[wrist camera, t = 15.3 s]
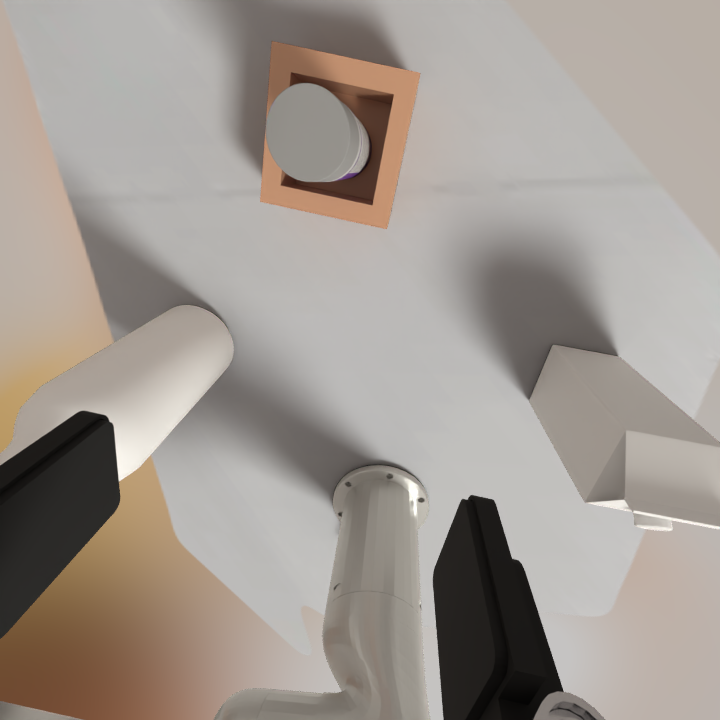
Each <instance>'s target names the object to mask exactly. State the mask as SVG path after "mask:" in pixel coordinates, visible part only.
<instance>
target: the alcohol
mask: <svg viewBox="0 0 720 720" xmlns="http://www.w3.org/2000/svg"><path fill="white" fill-rule="evenodd" d="M233 354H234V344H233V341H232V337H231V335H230V333H229V331H228V329H227V327H226V326H225V324H224V323H223V322H222V321H221V320H220V319H219V318H218V317H217V316H215V315H214V314H213V313H211V312H209V311H207V310H205V309H203V308H200V307H197V306H192V305H180V306H177V307H173V308H171V309H170V310H168V311H166V312H165V313H163V314H161V315H160V316H158V317H156V318H155V319H153V320H151V321H150V322H148V323H146V324H144V325H143V326H141V327H139V328H138V329H136V330H134V331H133V332H131V333H129V334H128V335H126V336H124V337H123V338H121V339H119V340H118V341H116V342H114V343H113V344H111V345H109V346H108V347H106V348H104V349H103V350H101V351H99V352H97V353H96V354H94V355H92V356H91V357H89V358H87V359H86V360H84V361H82V362H81V363H79V364H77V365H76V366H74V367H72V368H71V369H69V370H67V371H66V372H64V373H62V374H61V375H59V376H57V377H56V378H54V379H52V380H51V381H49V382H47V383H46V384H44V385H42V386H41V387H40V388H39V389H38V390H37V391H36V392H35V393H34V394H33V395H32V396H31V397H30V398H29V399H28V401H27V402H26V403H25V404H24V405H23V406H22V407H21V408H20V411H19V413H18V415H17V418H16V422H15V427H14V435H13V440H12V441H11V443H10V444H9V445H8V447H7V448H6V449H5V450H4V451H3V452H2V453H0V465H1V464H3V463H4V462H6V461H7V460H9V459H10V458H12V457H13V456H15V455H16V454H17V453H19V452H20V451H22V450H23V449H25V448H26V447H28V446H29V445H31V444H32V443H34V442H35V441H36V440H38V439H39V438H41V437H42V436H44V435H45V434H47V433H48V432H50V431H51V430H53V429H54V428H55V427H57V426H58V425H60V424H61V423H63V422H64V421H66V420H67V419H69V418H70V417H71V416H73V415H74V414H76V413H78V412H80V411H89V412H93V413H98V414H103V415H106V416H107V417H108V418H109V422H111V423H112V424H113V426H114V434H115V445H116V456H117V467H118V478H119V481H120V480H122V479H123V478H125V477H126V476H128V475H129V474H131V473H132V472H134V471H135V470H136V469H138V468H139V467H140V466H141V465H142V464H143V463H144V462H145V460H146V459H147V458H148V457H149V456H150V455H151V454H152V453H153V451H154V450H155V449H156V448H157V447H158V446H159V445H160V444H161V442H162V441H163V440H164V439H165V438H166V437H167V436H168V435H169V433H170V432H171V431H172V430H173V429H174V428H175V427H176V426H177V424H178V423H179V422H180V421H181V420H182V419H183V418H184V416H185V415H186V414H187V413H188V412H189V411H190V410H191V409H192V407H193V406H194V405H195V404H196V403H197V402H198V401H199V400H200V398H201V397H202V396H203V395H204V394H205V393H206V392H207V391H208V389H209V388H210V387H211V386H212V385H213V384H214V383H215V382H216V380H217V379H218V378H219V377H220V376H221V375H222V374H223V372H224V371H225V370H226V369H227V368H228V366H229V365H230V364H231V361H232V359H233Z"/></svg>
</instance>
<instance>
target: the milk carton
mask: <svg viewBox="0 0 720 720" xmlns="http://www.w3.org/2000/svg"><path fill="white" fill-rule="evenodd" d="M529 403H530V404H531V406H532V408H533V410H534V412H535V414H536V415H537V417H538V419H539V421H540V423H541V424H542V426H543V428H544V430H545V432H546V434H547V435H548V437H549V439H550V441H551V443H552V444H553V446H554V448H555V450H556V452H557V454H558V455H559V457H560V459H561V461H562V463H563V464H564V466H565V468H566V470H567V472H568V473H569V475H570V477H571V479H572V481H573V483H574V484H575V486H576V488H577V490H578V492H579V493H580V495H581V497H582V499H583V500H584V502H585V503H589V504H594V505H599V506H604V507H609V508H615V509H620V510H625V511H630V512H633V515H634V525H635V526H637V527H639V528H644V529H650V530H658V531H671V530H673V526H672V522H671V520H674V521H678V522H684V523H689V524H695V525H699V526H704V527H710V528H715V529H720V442H719V441H717V440H716V439H715V438H714V437H713V436H712V435H711V434H709V433H708V432H707V431H706V430H705V429H704V428H702V427H701V426H700V425H699V424H698V423H697V422H695V421H694V420H693V419H692V418H691V417H690V416H688V415H687V414H686V413H685V412H684V411H683V410H681V409H680V408H679V407H678V406H677V405H675V404H674V403H673V402H672V401H671V400H670V399H668V398H667V397H666V396H665V395H664V394H663V393H661V392H660V391H659V390H658V389H657V388H656V387H654V386H653V385H652V384H651V383H650V382H649V381H647V380H646V379H645V378H644V377H643V376H642V375H640V374H639V373H638V372H637V371H636V370H635V369H633V368H632V367H631V366H630V365H629V364H627V363H626V362H625V361H624V360H623V359H622V358H620V357H618V356H613V355H608V354H602V353H597V352H592V351H586V350H581V349H575V348H570V347H564V346H559V345H552V348H551V350H550V352H549V355H548V357H547V359H546V362H545V364H544V367H543V369H542V371H541V374H540V376H539V378H538V381H537V383H536V386H535V388H534V390H533V393H532V395H531V398H530V400H529Z"/></svg>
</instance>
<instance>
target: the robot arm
mask: <svg viewBox="0 0 720 720" xmlns="http://www.w3.org/2000/svg"><path fill="white" fill-rule="evenodd" d="M119 502H120V490H119V478H118V467H117V456H116V445H115V434H114V426H113V424H112V423H111V422H109V418H108V417H107V416H106V415H103V414H98V413H93V412H89V411H80V412H78V413H76V414H74V415H73V416H71V417H70V418H69V419H67V420H66V421H64V422H63V423H61V424H60V425H58V426H57V427H55V428H54V429H53V430H51V431H50V432H48V433H47V434H45V435H44V436H42V437H41V438H39V439H38V440H36V441H35V442H34V443H32V444H31V445H29V446H28V447H26V448H25V449H23V450H22V451H20V452H19V453H17V454H16V455H15V456H13V457H12V458H10V459H9V460H7V461H6V462H4V463H3V464H1V465H0V638H2V637H3V636H4V635H5V634H6V633H7V632H8V631H9V630H10V628H12V626H13V625H14V624H15V623H16V622H17V621H18V620H19V619H20V617H21V616H22V615H23V614H24V613H25V612H26V611H27V610H28V608H29V607H30V606H31V605H32V604H33V603H34V602H35V601H36V599H37V598H38V597H39V596H40V595H41V594H42V593H43V592H44V591H45V589H46V588H47V587H48V586H49V585H50V584H51V583H52V582H53V580H54V579H55V578H56V577H57V576H58V575H59V574H60V573H61V572H62V570H63V569H64V568H65V567H66V566H67V565H68V564H69V563H70V561H71V560H72V559H73V558H74V557H75V556H76V554H77V553H78V552H79V551H80V550H81V549H82V548H83V547H84V546H85V544H87V542H88V541H89V540H90V539H91V538H92V537H93V536H94V534H95V533H96V532H97V531H98V530H99V529H100V528H101V527H102V526H103V524H104V523H105V522H106V521H107V520H108V519H109V518H110V516H112V514H113V513H114V512H115V510H116V509H117V507H118V505H119ZM333 508H334V511H335V514H336V516H337V518H338V519H339V521H340V522H341V525H340V530H339V536H338V542H337V548H336V553H335V559H334V565H333V571H332V576H331V582H330V588H329V594H328V599H327V605H326V611H325V617H324V623H323V633H322V634H323V635H322V637H323V647H324V652H325V656H326V659H327V662H328V664H329V666H330V669H331V671H332V673H333V675H334V677H335V679H336V681H337V683H338V685H339V686H340V688H341V690H342V692H339V693H326V692H325V693H323V694H321V693H311V692H299V691H288V690H276V689H265V688H253V689H245V690H242V691H239V692H237V693H235V694H234V695H232V696H231V697H229V698H228V699H227V701H226V702H225V703H224V704H223V705H222V706H221V708H220V710H219V711H218V713H217V714H216V716H215V718H214V720H430V714H429V706H428V699H427V691H426V681H425V668H424V654H423V637H422V615H421V592H420V569H419V546H418V529H419V528H420V527H421V526H422V525H423V524H424V522H425V520H426V519H427V516H428V512H429V502H428V496H427V493H426V491H425V489H424V487H423V486H422V484H421V483H420V482H419V481H418V480H417V479H416V478H415V477H413V476H412V475H410V474H409V473H407V472H405V471H403V470H400V469H398V468H394V467H390V466H383V465H372V466H365V467H361V468H358V469H356V470H353V471H351V472H350V473H348V474H346V475H345V476H344V477H343V478H342V479H341V480H340V482H339V483H338V485H337V486H336V489H335V492H334V497H333ZM433 590H434V602H435V615H436V628H437V640H438V654H439V666H440V679H441V692H442V705H443V717H444V720H605V719H604V718H603V717H602V716H601V715H600V713H599V712H598V711H597V710H596V709H595V708H594V707H592V706H591V705H590V704H588V703H587V702H586V701H584V700H583V699H581V698H579V697H577V696H575V695H573V694H570V693H566V692H564V691H563V688H562V685H561V682H560V679H559V676H558V673H557V670H556V667H555V663H554V660H553V657H552V654H551V651H550V648H549V645H548V642H547V639H546V635H545V632H544V629H543V626H542V623H541V620H540V617H539V614H538V610H537V607H536V604H535V601H534V598H533V595H532V592H531V589H530V586H529V583H528V579H527V576H526V573H525V570H524V568H523V566H522V564H521V563H520V562H519V561H518V560H515V559H512V557H511V554H510V551H509V547H508V544H507V540H506V537H505V534H504V530H503V527H502V524H501V520H500V517H499V514H498V510H497V507H496V504H495V501H494V500H492V499H488V498H483V497H478V496H474V495H471V496H470V497H469V498H468V500H465V499H462V500H461V502H460V504H459V507H458V509H457V512H456V515H455V517H454V520H453V522H452V525H451V527H450V530H449V532H448V535H447V538H446V540H445V543H444V545H443V548H442V550H441V553H440V555H439V558H438V561H437V563H436V566H435V569H434V574H433ZM0 720H82V719H77V718H73V717H69V716H64V715H60V714H55V713H51V712H46V711H42V710H37V709H33V708H28V707H24V706H20V705H15V704H11V703H6V702H1V701H0Z"/></svg>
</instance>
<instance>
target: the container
mask: <svg viewBox="0 0 720 720" xmlns="http://www.w3.org/2000/svg"><path fill="white" fill-rule="evenodd" d="M266 140H267V144H268V148H269V151H270V153H271V155H272V157H273V159H274V161H275V162H276V164H277V165H278V166H279V167H280V168H281V169H282V170H283V171H284V172H285V173H286V174H288V175H289V176H291V177H293V178H295V179H297V180H300V181H305V182H332V181H337V180H343V179H349V178H353V177H355V176H357V175H359V174H360V173H361V172H362V171H363V170H364V169H365V168H366V167H367V165H368V163H369V161H370V158H371V154H372V143H371V139H370V136H369V133H368V131H367V130H366V128H365V127H364V125H363V124H362V123H361V122H360V121H359V119H358V118H357V117H356V116H355V115H354V113H353V112H352V111H351V110H350V109H349V108H348V107H347V106H346V105H345V104H344V103H343V102H341V101H340V100H339V99H338V98H337V97H336V96H335V95H333V94H332V93H331V92H330V91H329V90H327V89H325V88H324V87H322V86H319V85H317V84H312V83H299V84H295V85H292V86H290V87H288V88H286V89H285V90H283V91H282V92H281V93H280V94H279V95H278V96H277V97H276V99H275V100H274V101H273V103H272V105H271V107H270V109H269V112H268V115H267V119H266Z"/></svg>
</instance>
